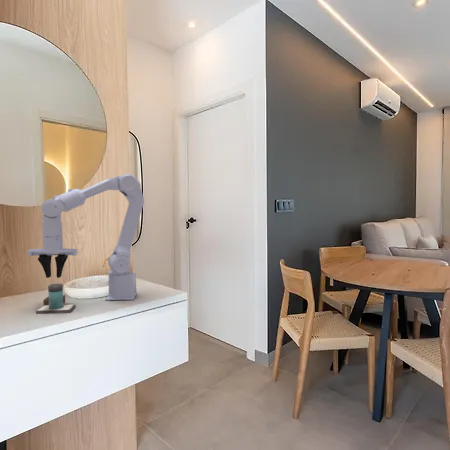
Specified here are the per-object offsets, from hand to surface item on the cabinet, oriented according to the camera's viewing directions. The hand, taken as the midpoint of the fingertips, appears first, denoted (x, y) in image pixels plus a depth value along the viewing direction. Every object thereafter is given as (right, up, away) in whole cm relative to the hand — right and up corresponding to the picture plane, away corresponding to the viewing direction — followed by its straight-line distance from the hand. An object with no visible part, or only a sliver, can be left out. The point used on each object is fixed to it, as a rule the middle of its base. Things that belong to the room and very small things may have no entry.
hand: (53, 277), depth 107 cm
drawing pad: (+3, -10, -4) cm, 11 cm away
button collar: (0, -9, +1) cm, 9 cm away
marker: (+3, -9, -4) cm, 10 cm away
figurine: (+10, -7, +29) cm, 32 cm away
